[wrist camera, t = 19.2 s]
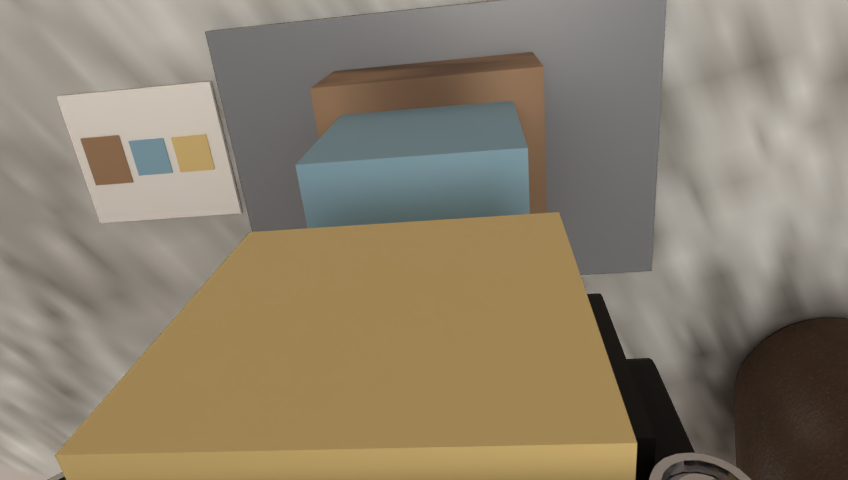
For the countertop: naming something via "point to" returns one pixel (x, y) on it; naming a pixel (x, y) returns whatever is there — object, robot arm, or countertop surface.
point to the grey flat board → (456, 39)
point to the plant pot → (795, 404)
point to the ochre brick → (373, 364)
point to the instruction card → (152, 152)
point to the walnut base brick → (446, 97)
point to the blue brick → (417, 166)
